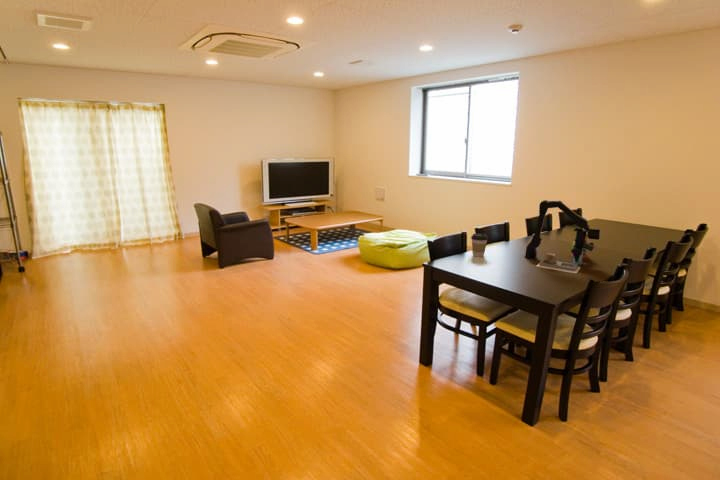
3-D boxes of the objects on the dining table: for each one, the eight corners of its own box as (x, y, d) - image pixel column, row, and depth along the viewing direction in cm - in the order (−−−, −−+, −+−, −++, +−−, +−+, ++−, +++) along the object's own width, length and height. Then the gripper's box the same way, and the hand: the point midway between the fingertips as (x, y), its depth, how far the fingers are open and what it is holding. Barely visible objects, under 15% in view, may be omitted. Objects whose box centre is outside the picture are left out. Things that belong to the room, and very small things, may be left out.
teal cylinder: (572, 263, 264) (573, 253, 262) (573, 262, 268) (574, 251, 266) (580, 265, 261) (582, 254, 259) (582, 263, 265) (583, 253, 263)
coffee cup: (487, 258, 275) (489, 237, 271) (470, 257, 277) (471, 236, 273) (485, 254, 285) (487, 233, 282) (469, 253, 288) (470, 232, 284)
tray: (536, 266, 258) (536, 262, 257) (541, 261, 269) (542, 257, 268) (576, 273, 244) (576, 269, 244) (580, 267, 255) (581, 264, 255)
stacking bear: (576, 259, 274) (580, 233, 269) (566, 255, 283) (569, 230, 279) (590, 258, 276) (594, 233, 271) (580, 254, 285) (583, 229, 281)
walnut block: (544, 265, 259) (545, 254, 257) (546, 263, 263) (547, 252, 261) (552, 266, 256) (554, 255, 254) (554, 264, 260) (556, 254, 258)
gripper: (592, 242, 248) (589, 267, 252) (596, 237, 263) (593, 260, 266) (572, 240, 255) (569, 263, 258) (577, 234, 269) (574, 257, 273)
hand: (577, 261), depth 264 cm, fingers closed on teal cylinder, 5 cm apart
